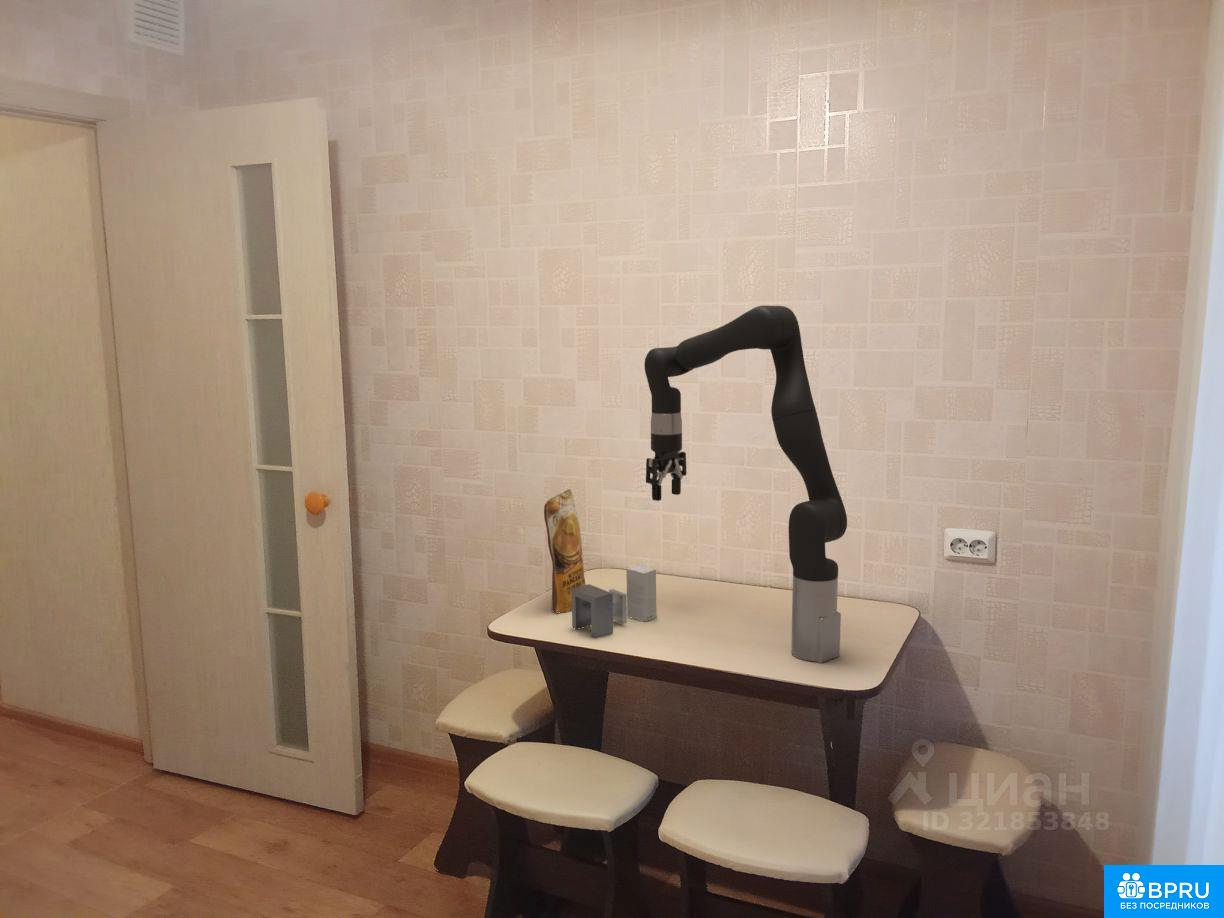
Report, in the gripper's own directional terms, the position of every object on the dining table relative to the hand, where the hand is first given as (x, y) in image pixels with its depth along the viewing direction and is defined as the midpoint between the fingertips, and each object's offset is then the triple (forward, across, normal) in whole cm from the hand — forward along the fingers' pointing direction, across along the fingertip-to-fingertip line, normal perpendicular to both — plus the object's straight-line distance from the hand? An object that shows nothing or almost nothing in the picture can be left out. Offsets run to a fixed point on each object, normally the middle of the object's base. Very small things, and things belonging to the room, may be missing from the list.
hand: (666, 497), depth 223 cm
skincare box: (+28, -11, 0) cm, 30 cm away
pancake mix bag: (+27, -14, +21) cm, 37 cm away
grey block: (+26, -19, +5) cm, 33 cm away
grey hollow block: (+27, -22, +5) cm, 35 cm away
